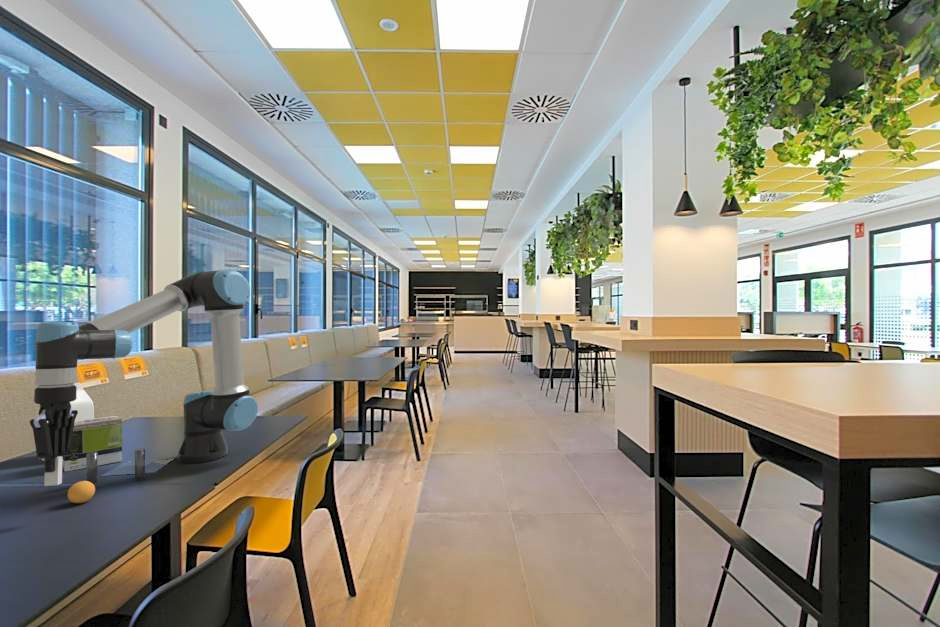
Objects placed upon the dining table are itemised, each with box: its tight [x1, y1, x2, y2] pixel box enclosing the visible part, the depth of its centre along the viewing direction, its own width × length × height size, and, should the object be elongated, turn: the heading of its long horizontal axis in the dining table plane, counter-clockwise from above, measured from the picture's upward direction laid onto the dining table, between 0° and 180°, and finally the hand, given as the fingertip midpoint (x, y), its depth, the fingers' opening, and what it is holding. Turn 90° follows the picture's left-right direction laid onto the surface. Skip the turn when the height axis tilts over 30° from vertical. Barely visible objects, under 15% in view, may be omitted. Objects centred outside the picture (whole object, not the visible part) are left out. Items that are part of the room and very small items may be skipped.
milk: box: [41, 381, 95, 461], centre depth 161 cm, size 12×12×26 cm
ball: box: [67, 480, 96, 504], centre depth 118 cm, size 6×6×6 cm
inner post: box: [134, 448, 146, 482], centre depth 135 cm, size 2×2×9 cm
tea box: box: [62, 415, 123, 472], centre depth 152 cm, size 15×10×15 cm, turn 134°
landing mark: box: [100, 460, 168, 477], centre depth 148 cm, size 15×15×1 cm
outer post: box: [85, 451, 99, 485], centre depth 133 cm, size 2×2×9 cm
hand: (53, 484), depth 108 cm, fingers closed
